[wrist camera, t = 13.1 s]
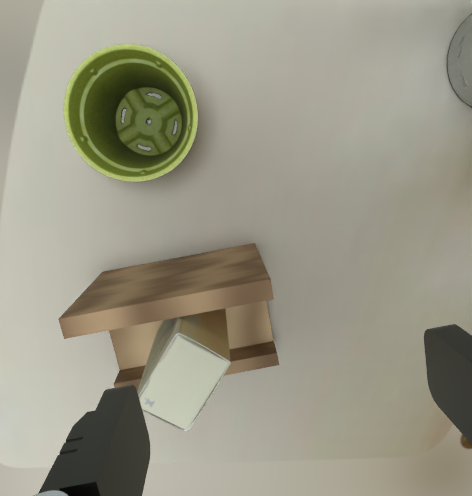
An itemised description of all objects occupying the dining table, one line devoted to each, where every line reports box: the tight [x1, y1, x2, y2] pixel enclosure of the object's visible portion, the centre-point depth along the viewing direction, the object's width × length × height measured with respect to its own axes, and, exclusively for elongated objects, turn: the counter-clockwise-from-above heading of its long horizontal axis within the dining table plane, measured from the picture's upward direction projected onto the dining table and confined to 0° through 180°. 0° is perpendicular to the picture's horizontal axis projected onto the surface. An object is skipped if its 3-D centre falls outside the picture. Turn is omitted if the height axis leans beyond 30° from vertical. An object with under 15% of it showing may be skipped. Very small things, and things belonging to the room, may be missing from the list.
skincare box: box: [137, 308, 231, 432], centre depth 34 cm, size 6×4×12 cm
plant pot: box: [64, 44, 198, 182], centre depth 35 cm, size 9×9×9 cm
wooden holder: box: [59, 243, 279, 391], centre depth 37 cm, size 15×10×12 cm
